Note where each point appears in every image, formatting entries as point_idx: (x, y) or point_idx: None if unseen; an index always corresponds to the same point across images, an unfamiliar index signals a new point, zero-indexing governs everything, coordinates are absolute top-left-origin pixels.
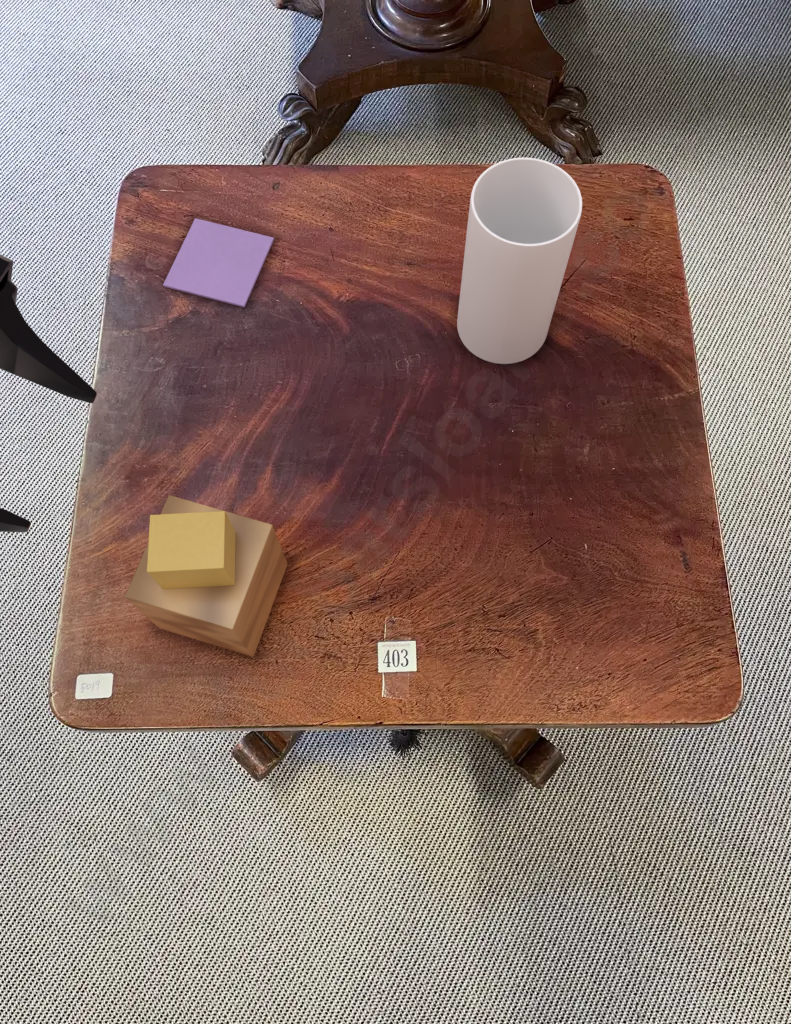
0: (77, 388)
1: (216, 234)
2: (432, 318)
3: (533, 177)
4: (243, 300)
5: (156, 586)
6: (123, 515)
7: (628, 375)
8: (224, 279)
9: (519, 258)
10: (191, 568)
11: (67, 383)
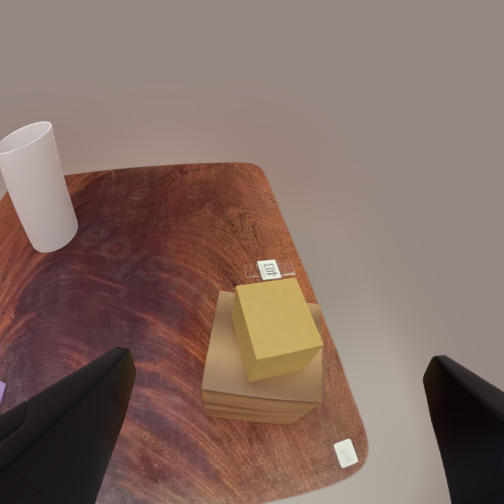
0: (114, 370)
1: None
2: (39, 265)
3: (7, 149)
4: (2, 384)
5: (303, 375)
6: (194, 479)
7: (98, 186)
8: None
9: (49, 142)
10: (306, 303)
11: (104, 385)
